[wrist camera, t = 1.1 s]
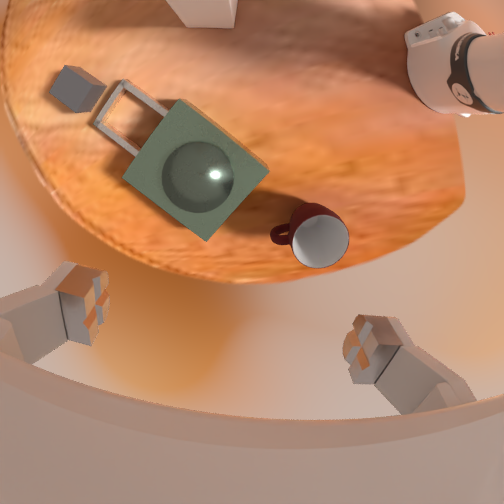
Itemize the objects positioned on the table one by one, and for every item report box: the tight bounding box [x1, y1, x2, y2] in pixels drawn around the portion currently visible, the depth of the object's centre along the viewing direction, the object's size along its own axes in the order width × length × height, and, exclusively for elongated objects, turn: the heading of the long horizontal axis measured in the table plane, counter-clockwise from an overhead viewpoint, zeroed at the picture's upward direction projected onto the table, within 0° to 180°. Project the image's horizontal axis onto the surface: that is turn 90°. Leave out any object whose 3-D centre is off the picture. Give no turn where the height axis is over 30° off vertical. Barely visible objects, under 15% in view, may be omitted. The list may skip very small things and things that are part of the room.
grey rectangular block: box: [49, 65, 107, 113], centre depth 35 cm, size 5×7×5 cm
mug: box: [270, 203, 349, 268], centre depth 44 cm, size 11×8×10 cm
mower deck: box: [93, 79, 270, 242], centre depth 40 cm, size 14×26×6 cm, turn 49°
